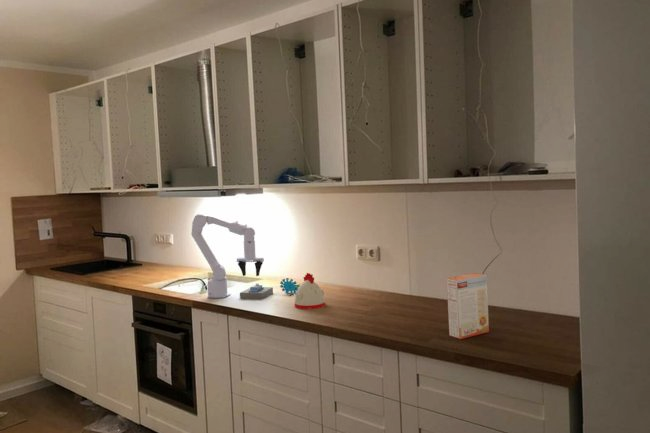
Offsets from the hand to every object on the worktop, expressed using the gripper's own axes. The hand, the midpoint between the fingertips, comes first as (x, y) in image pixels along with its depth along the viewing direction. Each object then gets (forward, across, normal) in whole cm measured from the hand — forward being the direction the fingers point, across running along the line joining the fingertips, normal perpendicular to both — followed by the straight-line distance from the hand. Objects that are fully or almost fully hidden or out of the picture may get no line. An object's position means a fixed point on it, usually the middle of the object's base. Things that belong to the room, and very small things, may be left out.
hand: (251, 275), depth 270 cm
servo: (+9, +5, -5) cm, 12 cm away
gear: (+10, +20, +3) cm, 23 cm away
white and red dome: (+10, +39, -22) cm, 46 cm away
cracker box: (+10, +110, -58) cm, 125 cm away
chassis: (+9, +5, -5) cm, 12 cm away
